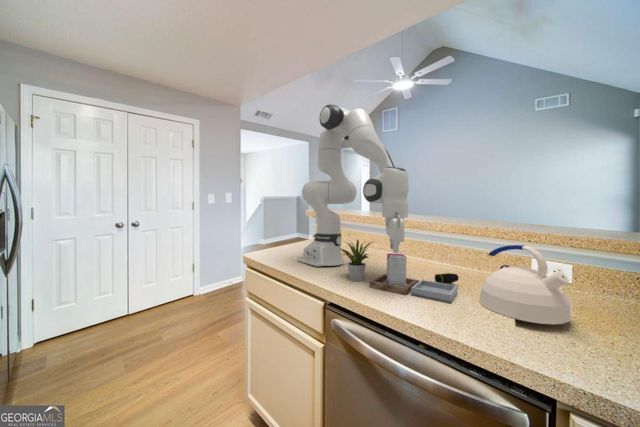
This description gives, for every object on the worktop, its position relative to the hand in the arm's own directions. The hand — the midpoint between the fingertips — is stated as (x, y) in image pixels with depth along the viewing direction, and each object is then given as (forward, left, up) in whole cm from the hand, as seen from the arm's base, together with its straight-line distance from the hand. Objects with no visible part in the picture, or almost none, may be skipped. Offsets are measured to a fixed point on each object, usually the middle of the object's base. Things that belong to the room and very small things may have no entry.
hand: (394, 250), depth 91 cm
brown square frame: (0, 0, -13) cm, 13 cm away
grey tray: (+14, 0, -13) cm, 19 cm away
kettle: (+36, +3, -13) cm, 39 cm away
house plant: (-15, 0, -13) cm, 19 cm away
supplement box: (+1, 0, -13) cm, 13 cm away
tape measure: (+17, +15, -12) cm, 26 cm away
